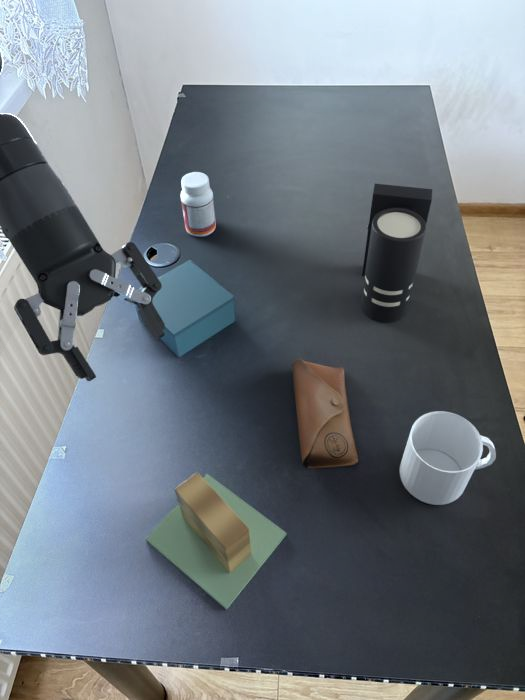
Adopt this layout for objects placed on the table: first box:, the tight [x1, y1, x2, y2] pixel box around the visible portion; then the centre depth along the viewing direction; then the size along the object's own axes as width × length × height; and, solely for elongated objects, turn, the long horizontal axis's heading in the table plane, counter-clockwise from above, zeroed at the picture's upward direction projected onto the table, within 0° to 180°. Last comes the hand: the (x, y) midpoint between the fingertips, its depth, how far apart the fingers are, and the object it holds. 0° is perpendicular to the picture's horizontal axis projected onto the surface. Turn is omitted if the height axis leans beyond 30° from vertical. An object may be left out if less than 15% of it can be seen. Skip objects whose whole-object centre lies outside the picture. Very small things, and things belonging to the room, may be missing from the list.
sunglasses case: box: [291, 358, 359, 470], centre depth 89 cm, size 18×7×7 cm
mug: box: [399, 410, 497, 506], centre depth 79 cm, size 12×9×9 cm
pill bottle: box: [180, 171, 217, 238], centre depth 115 cm, size 6×6×11 cm
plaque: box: [174, 471, 251, 573], centre depth 75 cm, size 10×4×8 cm, turn 41°
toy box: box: [134, 259, 236, 358], centre depth 101 cm, size 12×12×6 cm
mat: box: [145, 473, 288, 610], centre depth 78 cm, size 12×14×1 cm
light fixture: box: [360, 183, 433, 323], centre depth 99 cm, size 10×14×18 cm
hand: (127, 357), depth 63 cm, fingers open, 8 cm apart
